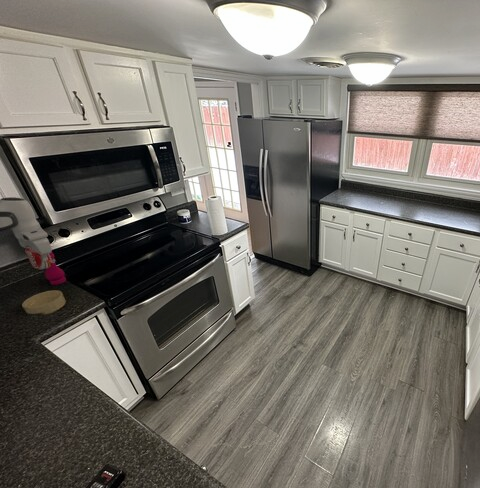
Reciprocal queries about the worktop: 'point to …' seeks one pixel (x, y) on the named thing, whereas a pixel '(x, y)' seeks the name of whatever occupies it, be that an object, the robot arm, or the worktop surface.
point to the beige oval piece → (44, 302)
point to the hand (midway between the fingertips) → (40, 258)
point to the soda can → (38, 259)
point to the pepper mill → (55, 273)
